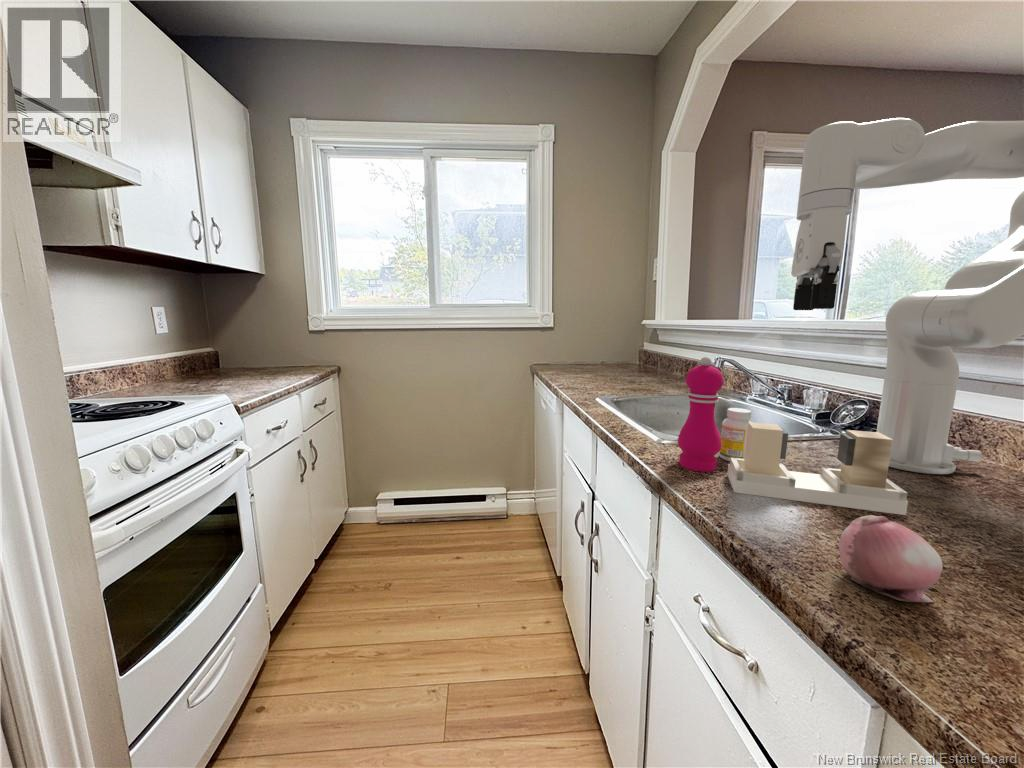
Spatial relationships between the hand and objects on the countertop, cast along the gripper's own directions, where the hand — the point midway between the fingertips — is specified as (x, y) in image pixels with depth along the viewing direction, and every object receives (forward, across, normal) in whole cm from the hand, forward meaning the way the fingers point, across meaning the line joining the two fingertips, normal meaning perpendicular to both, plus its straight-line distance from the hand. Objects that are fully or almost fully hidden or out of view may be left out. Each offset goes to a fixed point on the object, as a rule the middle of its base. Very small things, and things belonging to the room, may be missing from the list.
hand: (811, 309), depth 72 cm
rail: (+28, +15, -2) cm, 32 cm away
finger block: (+26, +15, +5) cm, 31 cm away
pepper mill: (+28, +8, -17) cm, 34 cm away
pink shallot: (+29, +39, -2) cm, 48 cm away
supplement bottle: (+28, +1, -10) cm, 30 cm away
